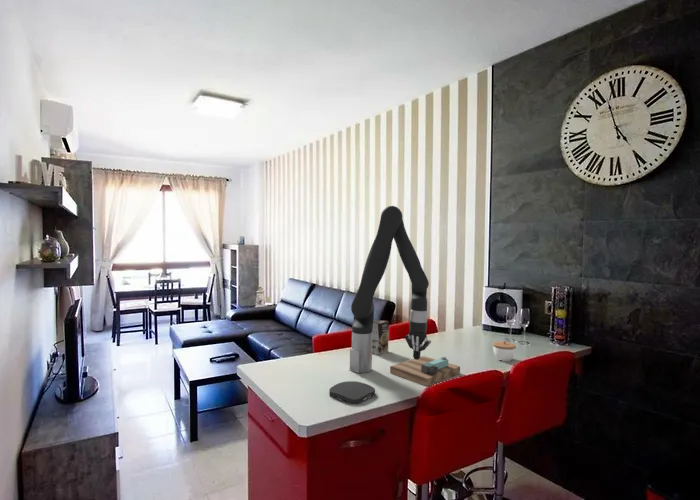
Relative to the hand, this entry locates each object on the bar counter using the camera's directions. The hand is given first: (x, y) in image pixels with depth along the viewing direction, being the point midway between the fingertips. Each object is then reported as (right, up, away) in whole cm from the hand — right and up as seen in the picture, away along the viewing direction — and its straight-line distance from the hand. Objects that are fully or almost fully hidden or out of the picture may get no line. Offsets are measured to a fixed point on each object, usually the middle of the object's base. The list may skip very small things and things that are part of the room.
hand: (416, 359), depth 170 cm
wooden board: (+4, -7, +1) cm, 8 cm away
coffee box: (-14, -6, +32) cm, 35 cm away
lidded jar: (+48, -7, +23) cm, 53 cm away
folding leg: (+8, -4, -3) cm, 9 cm away
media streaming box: (-29, -7, -24) cm, 38 cm away
